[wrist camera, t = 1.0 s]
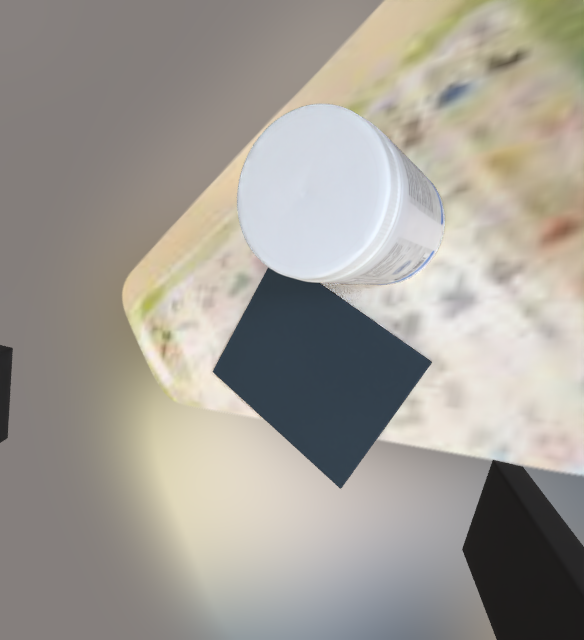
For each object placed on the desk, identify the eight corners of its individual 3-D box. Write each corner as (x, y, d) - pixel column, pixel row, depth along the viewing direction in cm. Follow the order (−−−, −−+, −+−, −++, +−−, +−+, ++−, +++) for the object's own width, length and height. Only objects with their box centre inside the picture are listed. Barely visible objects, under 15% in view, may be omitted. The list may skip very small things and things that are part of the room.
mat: (277, 253, 41) (275, 253, 41) (432, 362, 35) (431, 362, 35) (214, 371, 46) (212, 371, 45) (341, 487, 39) (340, 488, 39)
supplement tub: (345, 164, 38) (247, 95, 25) (460, 171, 33) (412, 92, 21) (325, 276, 39) (221, 265, 26) (432, 297, 35) (370, 296, 22)
